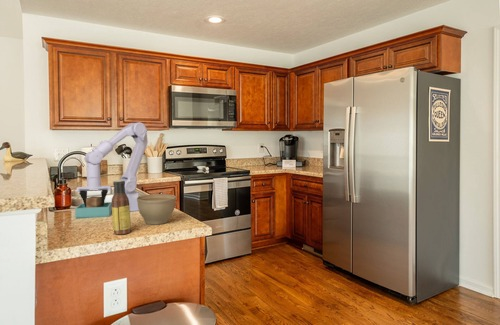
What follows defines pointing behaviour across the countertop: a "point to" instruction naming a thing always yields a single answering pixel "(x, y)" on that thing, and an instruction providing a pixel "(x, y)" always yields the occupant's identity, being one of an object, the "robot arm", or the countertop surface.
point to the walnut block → (93, 201)
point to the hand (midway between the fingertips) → (94, 206)
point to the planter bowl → (156, 207)
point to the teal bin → (93, 211)
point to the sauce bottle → (120, 209)
